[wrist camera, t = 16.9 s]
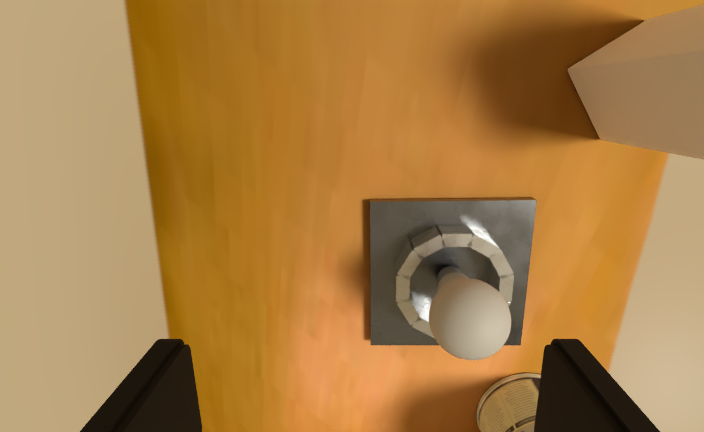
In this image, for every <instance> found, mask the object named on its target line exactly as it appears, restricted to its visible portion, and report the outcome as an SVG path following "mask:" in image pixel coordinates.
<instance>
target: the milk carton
mask: <svg viewBox="0 0 704 432" xmlns="http://www.w3.org/2000/svg"><path fill="white" fill-rule="evenodd" d="M568 73H569V75H570V78H571V80H572V82H573V84H574V86H575V88H576V90H577V92H578V94H579V96H580V99H581V101H582V103H583V105H584V107H585V109H586V111H587V113H588V115H589V117H590V119H591V122H592V124H593V126H594V128H595V130H596V132H597V134H598V136H599V138H600V139H601V140H603V141H609V142H614V143H619V144H625V145H630V146H635V147H641V148H646V149H651V150H656V151H662V152H667V153H673V154H678V155H683V156H689V157H694V158H699V159H704V4H703V5H699V6H695V7H692V8H688V9H684V10H681V11H677V12H673V13H669V14H666V15H662V16H658V17H654V18H651V19H648V20H646V21H644V22H642V23H641V24H639V25H638V26H636V27H634V28H633V29H631V30H629V31H628V32H626V33H625V34H623V35H621V36H620V37H618V38H617V39H615V40H613V41H612V42H610V43H608V44H607V45H605V46H604V47H602V48H600V49H599V50H597V51H595V52H594V53H592V54H591V55H589V56H587V57H586V58H584V59H583V60H581V61H579V62H578V63H576V64H574V65H573V66H571V67H570V68H568Z"/></svg>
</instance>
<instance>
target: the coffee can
mask: <svg viewBox="0 0 704 432" xmlns="http://www.w3.org/2000/svg"><path fill="white" fill-rule="evenodd" d="M540 379H541V374H536V373H521V374H515V375H511V376H508V377H506V378H503V379H501V380H500V381H498V382H496V383H495V384H493V385H492V386H491V387H490V388H489V389H488V390H487V391H486V392H485V393H484V394H483V396H482V398H481V400H480V402H479V404H478V408H477V414H476V417H477V423H478V427H479V429H480V431H481V432H534V425H535V417H536V409H537V402H538V394H539V386H540Z"/></svg>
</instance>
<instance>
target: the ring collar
mask: <svg viewBox="0 0 704 432" xmlns="http://www.w3.org/2000/svg"><path fill="white" fill-rule="evenodd" d="M536 202H537V200H536V199H534V198H532V197H527V198H433V199H370V316H371V345H439V344H438V342H437V341H436V339H435V338H434V336H433V334H432V332H431V329H430V326H429V308H430V305H431V301H432V300H433V298H434V296H435V295H436V293H437V287H438V284H437V275H438V273H439V272H440V271H441V270H442V269H443V268H445V267H449V266H453V267H456V268H458V269H460V270H461V272H462V273H463V274H464V275H466V276H467V277H468V278H469V279H477V280H481V281H483V282H486V283H488V284H489V285H491V286H492V287H494V288H495V289H497V290H498V292H499V293H500V294H501V295H502V296H503V298H504V299H505V301H506V302H507V304H508V307H509V310H510V314H511V330H510V334H509V337H508V339H507V340H506V342H505V344H504V345H521V336H522V327H523V318H524V309H525V300H526V291H527V282H528V273H529V264H530V255H531V246H532V237H533V228H534V219H535V210H536Z"/></svg>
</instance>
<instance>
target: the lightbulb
mask: <svg viewBox="0 0 704 432" xmlns="http://www.w3.org/2000/svg"><path fill="white" fill-rule="evenodd" d="M437 284H438V287H437V293H436V295H435V296H434V298H433V300H432V301H431V305H430V308H429V326H430V329H431V332H432V334H433V336H434V338H435V339H436V341H437V342H438V344H439V345H440V346H441V347H442V348H443V349H444V350H445V351H447V352H448V353H450V354H451V355H453V356H455V357H458V358H461V359H466V360H480V359H484V358H487V357H489V356H491V355H493V354H495V353H496V352H497V351H499V350H500V349H501V348H502V347H503V345H504V344H505V342H506V340H507V339H508V337H509V334H510V330H511V314H510V310H509V307H508V304H507V302H506V301H505V299H504V298H503V296H502V295H501V294H500V293H499V292H498V290H497V289H495V288H494V287H492V286H491V285H489V284H488V283H486V282H483V281H481V280H477V279H469V278H468V277H467V276H466V275H464V274H463V273H462V272H461V270H460V269H458V268H456V267H453V266H449V267H445V268H443V269H442V270H441V271H440V272H439V273H438V275H437Z"/></svg>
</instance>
